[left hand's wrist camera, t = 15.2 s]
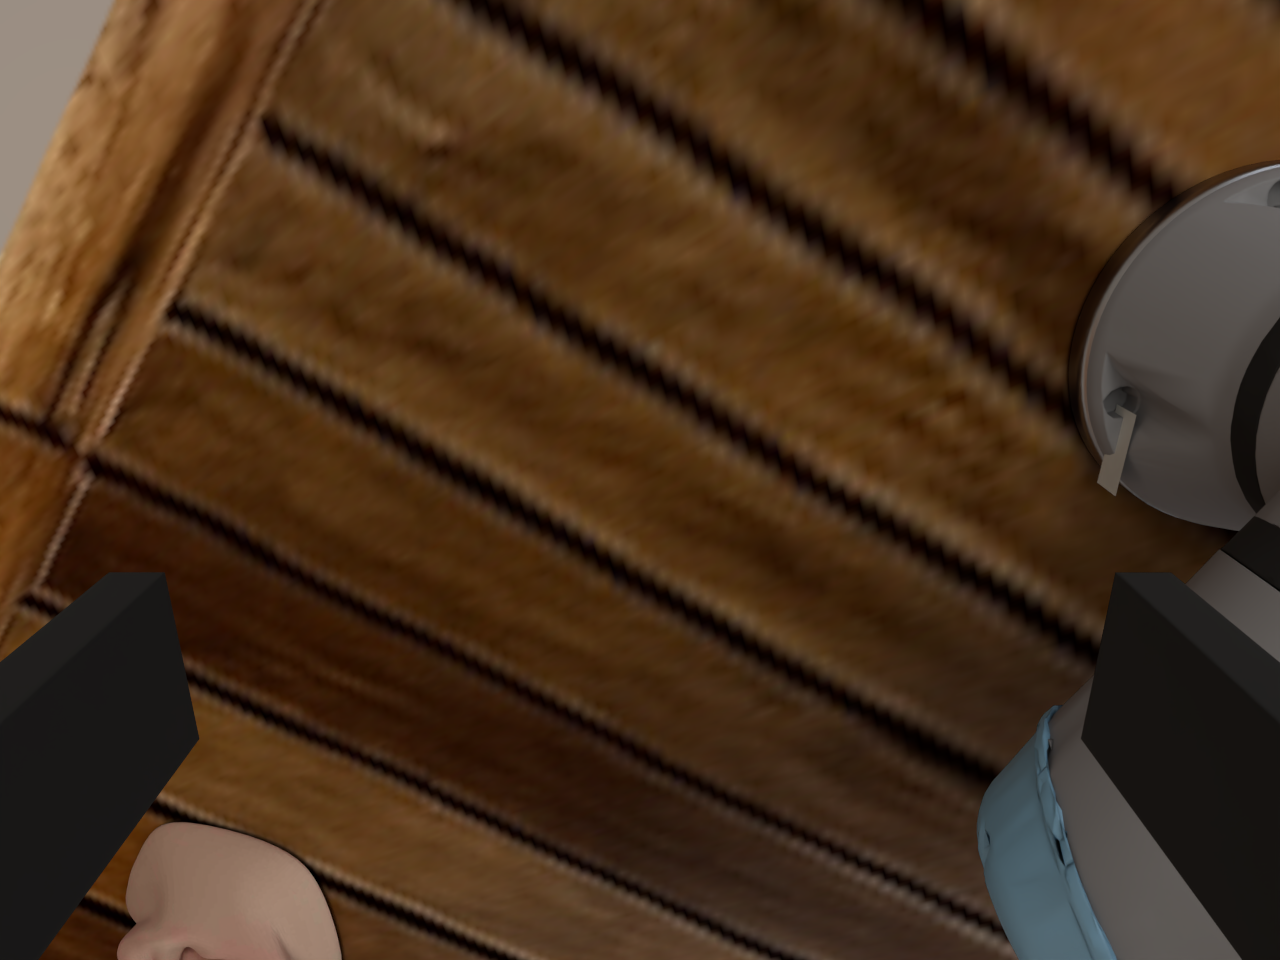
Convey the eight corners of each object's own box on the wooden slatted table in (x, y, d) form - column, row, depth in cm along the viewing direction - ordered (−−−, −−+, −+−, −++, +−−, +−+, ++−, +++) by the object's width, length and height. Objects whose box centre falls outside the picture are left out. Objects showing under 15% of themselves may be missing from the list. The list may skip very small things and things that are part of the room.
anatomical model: (67, 875, 44) (304, 884, 44) (112, 817, 48) (330, 826, 48) (110, 1066, 49) (324, 1074, 49) (147, 1000, 52) (347, 1007, 53)
